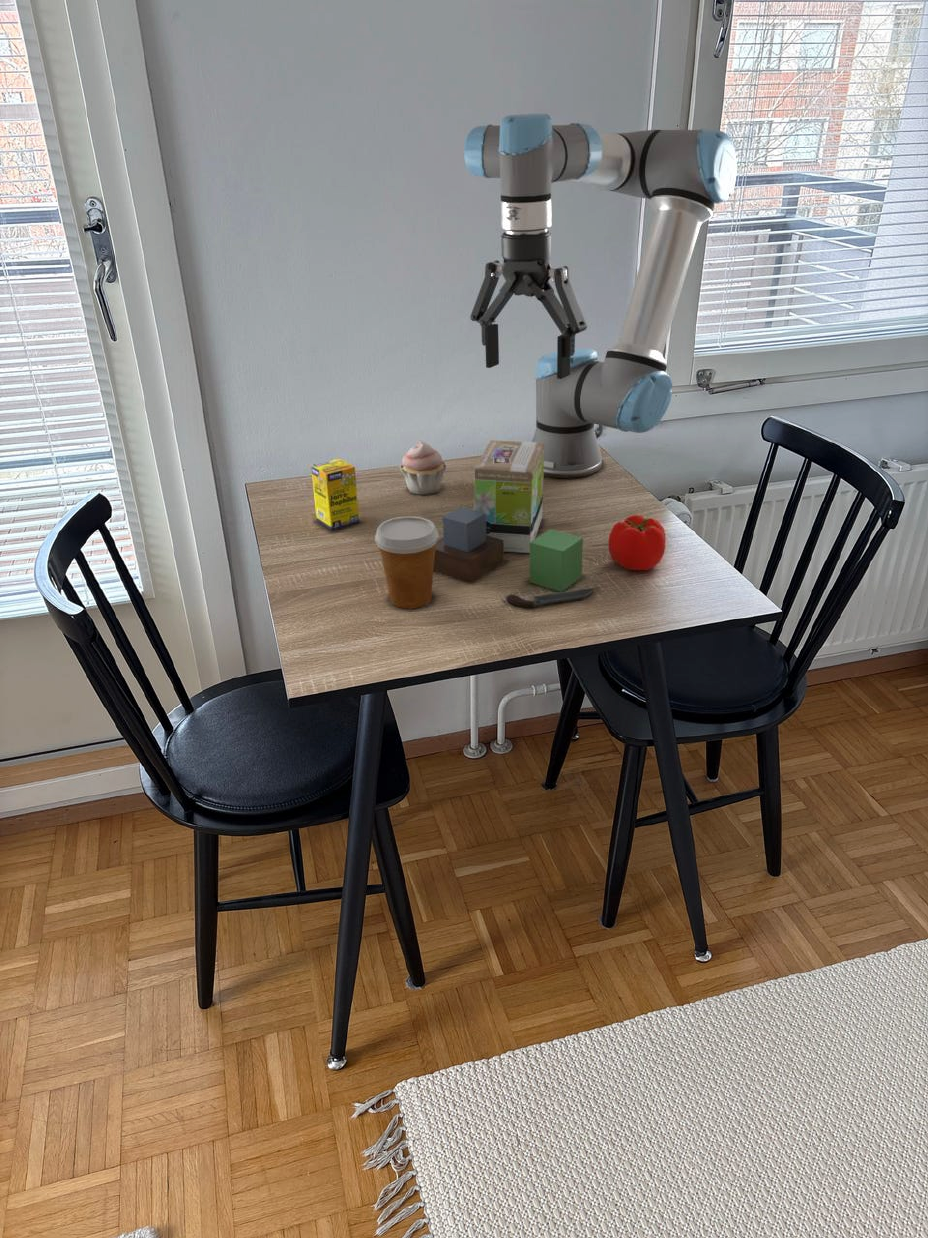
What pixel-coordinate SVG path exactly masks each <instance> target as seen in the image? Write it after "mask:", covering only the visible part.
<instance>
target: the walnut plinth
mask: <svg viewBox="0 0 928 1238" xmlns="http://www.w3.org/2000/svg"><path fill="white" fill-rule="evenodd" d="M504 553H505V551H504V544H503V540H501V539H497V538H494V537H491V536H487V535H486V542H484V543H483V544H481V545H480V546H478V547H476V548H475V549H473V550H471V551H470V552H465V551H462V550H458V549H455V548H452V547H449V546H445V545H444V541H443V537H441V538H438V539H437V542H436V545H435V557H434V570H433V572H437V573H439V574H442V575H446V576H449V577H453V578H455V579H458V580H462V581H464V582H468V583H471V584H472V583H474V582H475V581H476V580H478V579H479V578H481V577H482V576H484V575H486V574H488V573H489V572H490V571H492V570H494V569H495V568H497V567H499V566H500V565H501V564H503V563H505V562H504V561H505V559H504V558H505V557H504V556H505V555H504Z"/></svg>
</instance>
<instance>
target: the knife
mask: <svg viewBox="0 0 928 1238" xmlns="http://www.w3.org/2000/svg"><path fill="white" fill-rule="evenodd" d="M595 589H596V587H595V586H593V587H588V588H580V589H573V590H566V591H562V592H560V591H558V592H555V593H554V592H553V593H547V594H540V595H534V597H533V598H534V600H530V599H528V600H527V599H524V598H522V597H520V596H519V595H516V594H508V595H507V596H506V600H507V602H508V603H510V604H512V605H515V606H518V607H522V608H534V607H540V606H545V605H549V604H555V603H562V602H568V601H576V600H582V599H586V597H588V596H589V595H591V594H592V593H593V592H594V591H595Z"/></svg>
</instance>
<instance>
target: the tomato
mask: <svg viewBox="0 0 928 1238" xmlns="http://www.w3.org/2000/svg"><path fill="white" fill-rule="evenodd" d="M666 536H667V535H666V531H665V529H664V527H663V525H662V524H661V523H660V521H658V520H657V519H656V518H653V517H650V518H649V517H644V516H643V515H640V514H633V515H630V516H628V517H626V518H625V519H624V520H623V521H618V522H617V523H615V524H614V525H613V526H612V529H611V531H610V532H609V535H608V541H607V544H608V552H609V555H610V557H611V559H612V560H613V561H614V562H616V563H617V564H619V565H620V566H621V567H623V568H625V569H626V570H628V571H629V570H630V571H649V570H652V569H654V568H655V567H656V566H657V565H658V564H659V563H661V560H662V559H663V557H664V555H665V551H666V541H667V540H666V539H667V537H666Z"/></svg>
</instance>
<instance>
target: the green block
mask: <svg viewBox="0 0 928 1238" xmlns="http://www.w3.org/2000/svg"><path fill="white" fill-rule="evenodd" d="M583 547H584V537H582V536H578V535H574V534H571V533H567V532H563V531H559V530H556V529H552V528H550V529H548V530H547V531H545V532H544V533H542V534H540V535H539V536H536V537H535V539H534V540H533V541H531V542H530V552H529V583H532V584H534V585H538V586H540V587H544V588H547V589H550V590H554V591H557V592H565V590H567V589H568V588H569V587H571V586H572V585H573V584H575V583H576V582H577V581H579V580H580V579H582V577H583V576H582V575H583V551H584V549H583Z"/></svg>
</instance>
